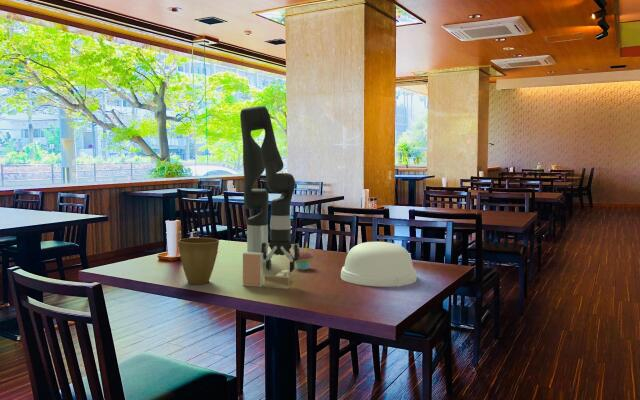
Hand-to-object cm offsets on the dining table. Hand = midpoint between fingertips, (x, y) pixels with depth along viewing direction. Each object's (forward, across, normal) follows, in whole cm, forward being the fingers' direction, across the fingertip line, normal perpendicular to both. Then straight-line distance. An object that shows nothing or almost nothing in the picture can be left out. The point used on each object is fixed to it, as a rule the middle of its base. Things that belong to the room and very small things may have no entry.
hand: (280, 271), depth 193 cm
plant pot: (+5, +30, +5) cm, 31 cm away
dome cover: (+5, -34, -22) cm, 41 cm away
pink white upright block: (+5, +9, +4) cm, 11 cm away
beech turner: (+5, 0, -2) cm, 5 cm away
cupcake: (+5, 0, -30) cm, 31 cm away
